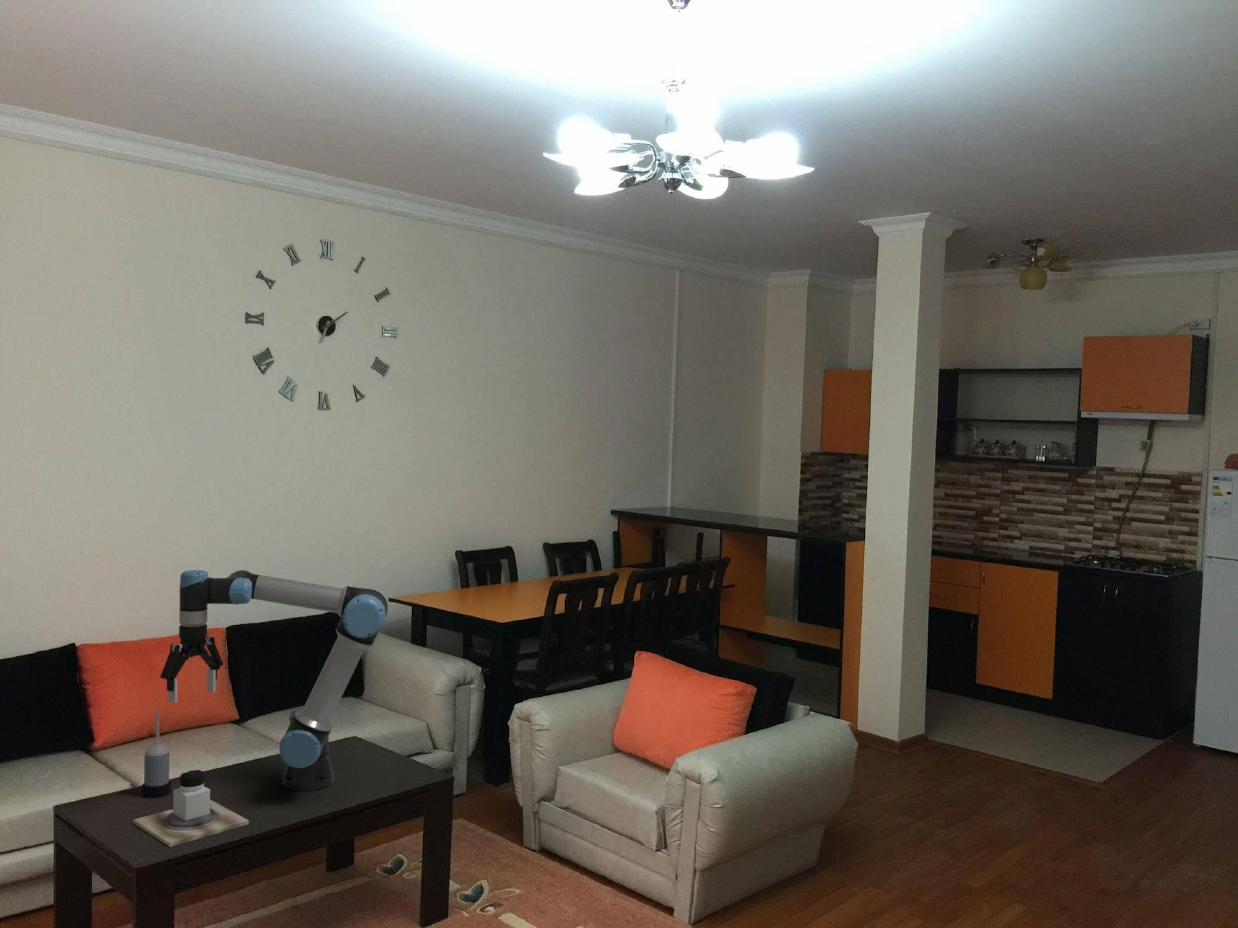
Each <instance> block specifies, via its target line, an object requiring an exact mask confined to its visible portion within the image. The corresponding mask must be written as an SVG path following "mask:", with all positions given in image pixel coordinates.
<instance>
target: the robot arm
mask: <svg viewBox="0 0 1238 928" xmlns="http://www.w3.org/2000/svg"><path fill="white" fill-rule="evenodd" d="M179 580H180V581H179V586H178V587H179V616H178V617H179V622H178V623H179V624H180V625H179V627H178V637H179V639H180V642H179V643H178V644H176V643H171V644H170V648H169V653H168V656H167V659H166V660H165V664H164V665H163V668H162V671H161V674H160V676H159V677H160V679H164V680H166V691H167V692H168V695H167V697H168V701H167V702H169V703H174V704H175V703H178V679H176V678H177V676H178V674H179V672H180V671H181V670H182V668H183V666H184V665H185V663H186V662H187V661H188V660H189V659H190V658H194V657H195V656H196V657H198V656H199V657H200V658H201V659H202V660H203V662H204V663H205V664H206V665H207V666H208V667H209V668H207V669H206V692H211V693H215V692H216V680H218V679H217V678H218V670H220V669H221V667H222V666H223V665H224V661H223V660H222V657H221V655H220V653H219V651H218V647H217V645H216V641H215V640H216V639H215V637H213V636H208V624H207V622H208V605H235V606H236V605H247V604H249V603H250V601H251V600H257V601H264V602H269V603H275V604H280V605H281V604H282V605H286V606H287V605H288V606H292V607H293V606H294V607H298V608H305V609H311V610H318V611H323V612H324V611H325V612H329V613H334V614H335V613H336V614H338V616H339V617H340V619H339V622H338V624H337V627H336V628H335V631H336V634H337V638H336V640H335V641H334V644H333V646H332V648H331V651H330V653H329V655H328V657H327V659H326V661H325V663H324V665H323V667H322V669H321V671H320V673H319V675H318V677H317V680H316V682H315V684H314V685H313V688H312V690H311V692H310V693H309V696H308V698H307V700H306V702H305V704H304V706H303V707H297V708H294V709H292V710H291V711H290V713H289V717H288V719H289V724H288V727H287V729H286V731H285V733H284V735H282V737H281V738H280V742H279V746H278V747H279V755H280V758H281V759H282V760H283V762H284V763H285V764H286V767H285V770H284V773H283V776H282V785H283V787H284V788H286V789H288V790H292V791H300V792H302V791H303V792H304V791H316V790H319V789H323V788H327V787H329V786H330V785H332V784H333V783H334V781H335V780H334V779H335V777H334V776H335V774H334V770H333V767H332V763H331V761H330V757H329V750H330V749H329V741H330V740H329V737H330V733H331V731H332V729H333V725H332V723H331V719H332V717H333V715H334V713H335V711H336V710H337V707H338V705H339V703H340V701H341V698H342V697H343V695H344V692H345V690H346V688H347V687H348V684H349V682H350V681H351V678H352V676H353V674H354V672H355V669H357V668H356V667H357V665H358V664H359V661H360V659H361V657H362V655H363V654H364V651H365V650H366V649H367V648H369V647H372V646H373V644H374V642H375V640H376V638H377V636H378V634H379V632H380V630H381V629H382V627H383V625H384V623H385V620H386V617H387V614H388V610H389V609H388V607H389V606H388V602H387V601H388V600H387V599H386V598H385V596H384V594H382V593H381V592H380V591H378V590H376V589H372V588H365V587H364V588H363V587H356V586H350V585H349V586H348V585H346V586H345V587H343V588H340V587H335V586H328V585H323V584H317V583H312V582H311V583H310V582H304V581H298V580H293V579H288V578H287V579H286V578H280V577H275V576H268V575H264V574H263V575H262V574H256V573H252V572H251V571H250V570H246V569H240V570H236V571H234V572H232V573H230V575H229V576H227V577H210V576H209V573H208V571H207V570H202V569H192V570H185V571H182V573H181V574H180V578H179Z"/></svg>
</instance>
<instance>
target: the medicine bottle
mask: <svg viewBox="0 0 1238 928" xmlns="http://www.w3.org/2000/svg"><path fill="white" fill-rule="evenodd" d="M179 784H180V785H179V787H178V788H175V789H173V804H172V805H173V807H172V808H173V814H174V815H175V816H177V817H179V818H181V819H183V820H184V821H189V820H192V819H196V818H199V817H203V816H206V815H209V814H210V800H211V789H210V788H208V787H206V786H204V785H205V773H204V771H203V770H201V769H188V770H186V771H184V772H181V774H180V783H179Z"/></svg>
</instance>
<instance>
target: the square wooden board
mask: <svg viewBox="0 0 1238 928" xmlns="http://www.w3.org/2000/svg"><path fill="white" fill-rule="evenodd" d="M249 823H250V821H249V819H247V818H245V817H243V816H241V815H239V814H238V813H237V812H234V811H232V810H231V809H229V808H227V807H225V806H223V805H221V804H220V803H218V802H216V801H213V800H212V799H210V814H209V815H206V816H203V817H199V818H196V819H192V820H189V821H184V820H183V819H181V818H179V817H177V816H175V815H174V814H173V809H168V810H166V811H165V810H163V811H162V812H158V813H153V814H150V815H146V816H141V817H138V818H135V819H133V822H132V824H134V825H135V826H136V827H138V828H140V829H142V830H143V831H144V832H146V833H147V834H149V835H150V836H153V838H155V839H157V840H159V842H162V843H163V844H164V845H165V846H168V847H169V848H171V847H175V846H177V845H181V844H184V843H188V842H191V841H195V840H199V839H201V838H205V837H209V836H213V835H216V834H220V833H223V832H227V831H229V830H233V829H235V828H240V827H243V826H247V825H249Z"/></svg>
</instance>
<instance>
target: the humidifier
mask: <svg viewBox="0 0 1238 928" xmlns="http://www.w3.org/2000/svg"><path fill="white" fill-rule="evenodd" d="M155 714H156V715H155V716H156V717H155V721H156V722H155V741H154V744H152V745H151V746H149V747H148V748H147V749H146V750H145V752H144V761H143V762H144V765H143V766H144V768H143V769H144V773H143V774H144V776H143V777H144V778H143V779H144V781H143V783H142V784H141V796H142V797H143V798H145V799H158V798H162V797H163V798H164V797H166V796H168V795H170V794H171V793H172V781H171V780H170V750H169V748H168V747H167V746H166V745H164V744H162V743H160V709H156V712H155Z"/></svg>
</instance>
